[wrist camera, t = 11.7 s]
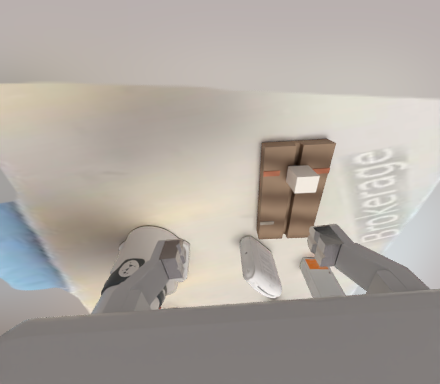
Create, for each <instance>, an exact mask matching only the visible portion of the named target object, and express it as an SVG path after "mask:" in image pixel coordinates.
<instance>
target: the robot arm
mask: <svg viewBox="0 0 440 384" xmlns="http://www.w3.org/2000/svg"><path fill="white" fill-rule="evenodd" d="M309 232H310V235H309V236H308V239H307V242H308V247H309V249H310V251H311V252H312V253H314V254H315V257H314V258H315V259H316V261H317V263H318V265H319V266H320V267H328V266H335V268H337V269H338V270H339V271H341V272H342V273H343V274H345V275H346V276H347V277H349V278H350V279H351V280H353V281H354V282H355V283H357V284H358V285H359V286H360V287H362V288H363V289H364V290H366V291H367V292H366V294H362V295H349V296H335V297H321V298H308V299H294V300H281V301H267V302H253V303H239V304H226V305H212V306H198V307H184V308H171V309H161V305H162V303H163V302H164V300H165V296H167V295H170V294H172V293H174V292H175V291H176V289H177V286H178V282H183V280H185V279H187V276H188V265H189V249H190V245H189V243H188V242H186V241H183V240H182V239H179V238H177V237H176V236H175V235H174V234H172V233H171V232H169V231H167V230H165V229H162V228H159V227H153V226H144V227H139V228H137V229H134V230H133V231H132V232H130V234H129V235H128V237H127V239H126V241H125V242H123V243H122V244H121V245H120V246H119V249H118V250H119V251H120V252H119V255H118V257H117V259H116V261H115V263H114V265H113V267H112V269H111V272H110V274H111V275H110V277H109V279H108V280H107V281H106V283H105V285H104V288H103V290H102V292H101V297H100V299H99V301H98V303H97V304H96V306H95V308H94V310H93V311H92V313H91V314H88V315H76V316H75V315H74V316H61V317H48V318H47V317H46V318H33V319H28V320H25V321H23V322H21V323H20V324H18V325H16V326H15V327H13V328H12V329H10V330H9V331H7V332H6V333H4V334H3V335H1V336H0V384H440V289H429V288H428V287H427V286H426V285H425V284H424V283H423V282H422V281H421V280H420V279H419V278H418V277H417V276H416V275H415V274H413V273H412V272H411V271H410V270H409V269H408V268H407V267H405V266H403V265H401V264H399V263H397V262H394V261H393V260H390V259H388V258H386V257H384V256H382V255H380V254H378V253H376V252H374V251H372V250H370V249H368V248H366V247H364V246H362V245H360V244H358V243H354V242H353V241H352V240H351V239H350V238H349V237H348V236H347V235H346V234H345V232H344V231H343V230H342V229H341V228H340V227H339V226H338V225H337V224H331V225H321V226H311V227H310V228H309Z"/></svg>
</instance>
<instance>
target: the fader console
mask: <svg viewBox="0 0 440 384" xmlns="http://www.w3.org/2000/svg"><path fill="white" fill-rule="evenodd" d="M335 145H336V143H334V142H332V141H330V140H328V139H317V140H300V141H283V142H267V143H262V146H261V164H260V181H259V198H258V216H257V234H258V238H259V239H278V238H282V235H283V234H286V237H287V238H304V237H308V236H309V235H310V232H309V228H310V227H311V226H314V222H315V219H316V215H317V211H318V208H319V204H320V200H321V197H322V193H323V189H324V186H325V182H326V178H327V175H328V173H329V170H330V168H329V167H330V164H331V160H332V156H333V153H334V149H335ZM294 165H297V166H303V165H308V166H309V167H310V168H312V169H313V170H314V171H315V172H316V173H317V174H318V175H319V176H320V178H319V182H318V186H317V190H316V192H315V193H295V194H294V192H293V191H292V189H291V188H290V186H289V185H288V183H287V182H286V178H287V171H288V166H294Z"/></svg>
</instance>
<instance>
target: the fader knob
mask: <svg viewBox="0 0 440 384" xmlns="http://www.w3.org/2000/svg"><path fill="white" fill-rule="evenodd" d="M319 178H320V176H319V175H318V174H317V173H316V172H315V171H314V170H313V169H312V168H310V167H309V166H308V165H303V166H297V165H294V166H288V171H287V178H286V182H287V183H288V185H289V186H290V188H291V189H292V191H293V192H294V194H295V193H315V192H316V190H317V186H318V182H319Z"/></svg>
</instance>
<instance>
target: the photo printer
mask: <svg viewBox="0 0 440 384" xmlns="http://www.w3.org/2000/svg"><path fill="white" fill-rule="evenodd" d="M240 252H241V262H242V271H243V277H244V279H245V280H246V282H247V283H248V284H249V285H250V286H251V287H252V288H253V289H255V290H256V291H257V292H259V293H260V294H262V295H264V296H266V297H269V298H276V297H278V296H280V295H281V292H282V286H281V282H280V279H279V276H278V272H277V269H276V266H275V262H274V259H273V255H272V253H271V252H270V251H269V250H268V249H267V248H266V247H264V246H263V245H262V244H261V243H259V242H258V241H257V240H256V239H254V238H253V237H251V236H246V237H244V238H243V239H242V240H241V242H240Z"/></svg>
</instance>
